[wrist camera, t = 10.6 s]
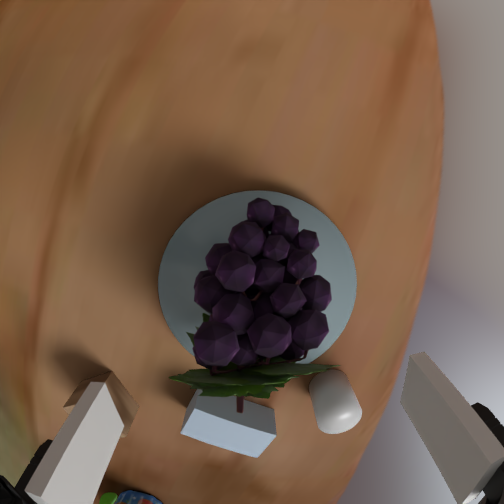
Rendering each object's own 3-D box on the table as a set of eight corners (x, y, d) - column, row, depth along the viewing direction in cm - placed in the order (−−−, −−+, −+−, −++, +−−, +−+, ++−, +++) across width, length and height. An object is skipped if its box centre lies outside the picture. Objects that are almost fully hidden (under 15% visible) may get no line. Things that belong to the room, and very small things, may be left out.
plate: (148, 202, 24) (143, 204, 23) (348, 182, 23) (353, 183, 22) (181, 373, 27) (178, 381, 26) (349, 358, 27) (353, 365, 26)
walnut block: (81, 380, 28) (62, 407, 23) (112, 370, 28) (93, 399, 23) (108, 413, 29) (92, 441, 24) (139, 405, 29) (126, 436, 24)
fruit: (306, 215, 26) (294, 386, 26) (177, 206, 24) (173, 388, 24) (371, 194, 16) (345, 445, 16) (168, 173, 14) (166, 459, 14)
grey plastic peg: (308, 372, 28) (317, 406, 23) (349, 366, 27) (364, 398, 23) (308, 402, 28) (316, 436, 24) (346, 396, 28) (359, 428, 24)
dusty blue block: (200, 381, 28) (194, 408, 24) (274, 408, 29) (276, 435, 25) (187, 407, 29) (180, 433, 25) (256, 431, 30) (257, 457, 26)
